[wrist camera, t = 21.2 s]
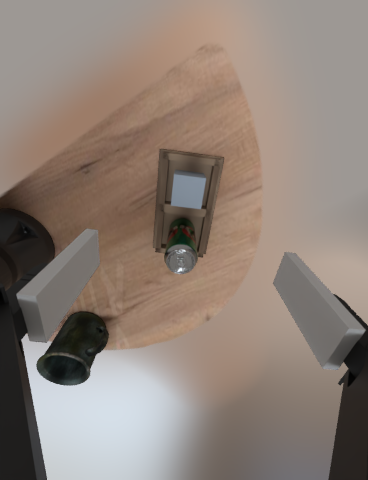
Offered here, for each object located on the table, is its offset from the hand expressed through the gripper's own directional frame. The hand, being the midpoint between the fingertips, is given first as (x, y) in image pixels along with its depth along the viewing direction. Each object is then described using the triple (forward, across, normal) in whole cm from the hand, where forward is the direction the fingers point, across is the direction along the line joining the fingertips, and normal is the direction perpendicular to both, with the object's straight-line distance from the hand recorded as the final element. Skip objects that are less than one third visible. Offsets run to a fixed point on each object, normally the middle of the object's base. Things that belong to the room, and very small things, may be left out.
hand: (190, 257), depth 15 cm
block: (+26, 0, 0) cm, 26 cm away
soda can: (+26, 0, -9) cm, 27 cm away
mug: (+27, -20, -39) cm, 51 cm away
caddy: (+27, 0, -4) cm, 27 cm away
